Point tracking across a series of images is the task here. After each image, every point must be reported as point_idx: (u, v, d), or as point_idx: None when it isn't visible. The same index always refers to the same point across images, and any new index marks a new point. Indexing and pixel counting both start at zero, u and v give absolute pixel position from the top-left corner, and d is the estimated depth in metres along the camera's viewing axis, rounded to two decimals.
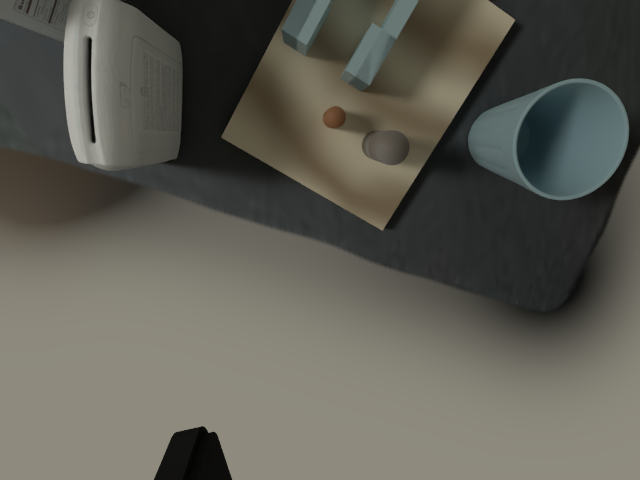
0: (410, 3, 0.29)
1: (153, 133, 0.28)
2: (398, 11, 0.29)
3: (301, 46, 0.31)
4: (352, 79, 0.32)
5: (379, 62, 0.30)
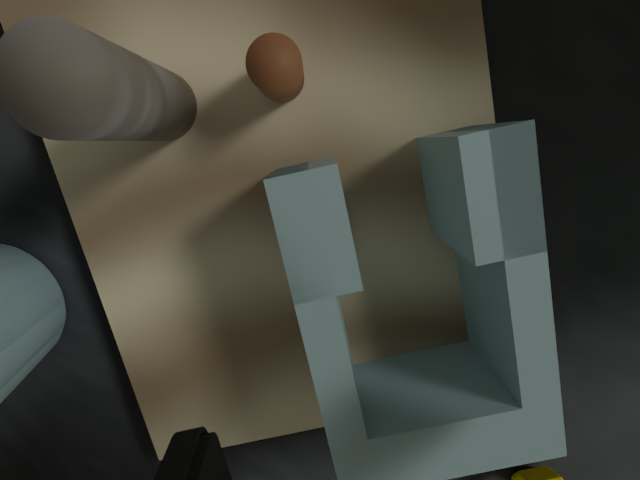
0: (325, 375, 0.12)
1: None
2: (334, 347, 0.12)
3: (453, 134, 0.12)
4: (307, 166, 0.13)
5: (285, 239, 0.11)
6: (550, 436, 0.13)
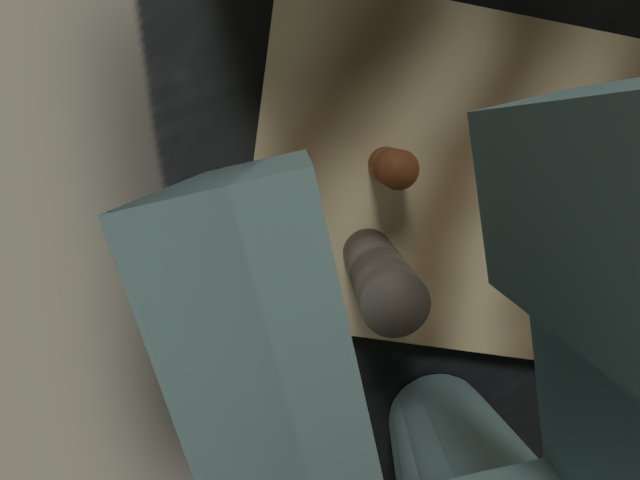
0: None
1: None
2: None
3: (588, 93, 0.05)
4: (247, 170, 0.05)
5: (176, 370, 0.04)
6: None
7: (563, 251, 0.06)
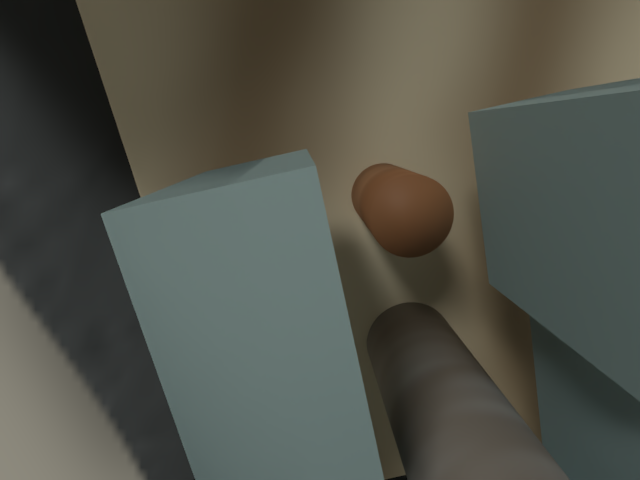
0: None
1: None
2: None
3: (589, 93, 0.05)
4: (249, 170, 0.05)
5: (178, 369, 0.04)
6: None
7: (564, 251, 0.06)
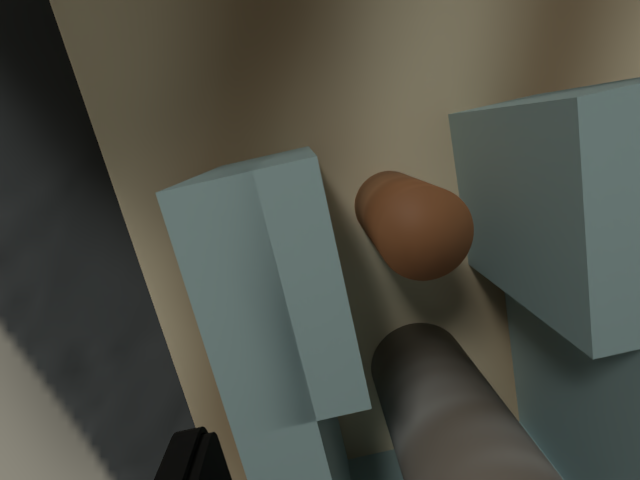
0: None
1: None
2: None
3: (537, 99, 0.07)
4: (262, 162, 0.07)
5: (210, 313, 0.06)
6: None
7: (521, 229, 0.07)
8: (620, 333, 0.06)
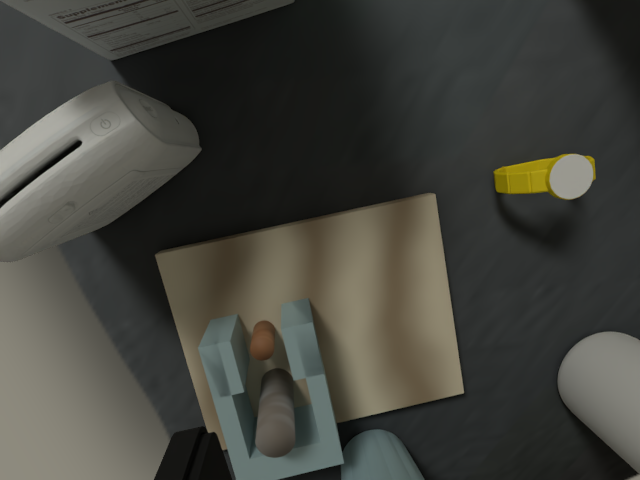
0: (228, 430, 0.27)
1: (73, 233, 0.22)
2: (232, 417, 0.27)
3: (287, 318, 0.28)
4: (221, 332, 0.28)
5: (208, 371, 0.26)
6: (335, 454, 0.28)
7: None
8: (298, 374, 0.27)
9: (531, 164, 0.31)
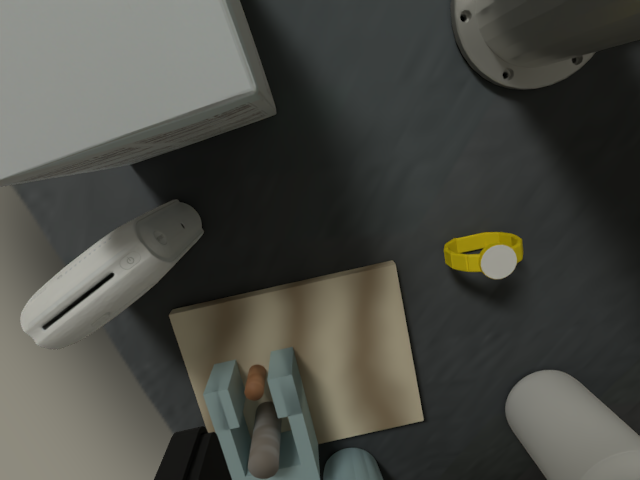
0: (228, 455, 0.35)
1: None
2: (230, 445, 0.34)
3: (273, 368, 0.35)
4: (221, 379, 0.35)
5: (211, 411, 0.34)
6: (312, 473, 0.36)
7: None
8: (282, 414, 0.34)
9: (478, 236, 0.37)
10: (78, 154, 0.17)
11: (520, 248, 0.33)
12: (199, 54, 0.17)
